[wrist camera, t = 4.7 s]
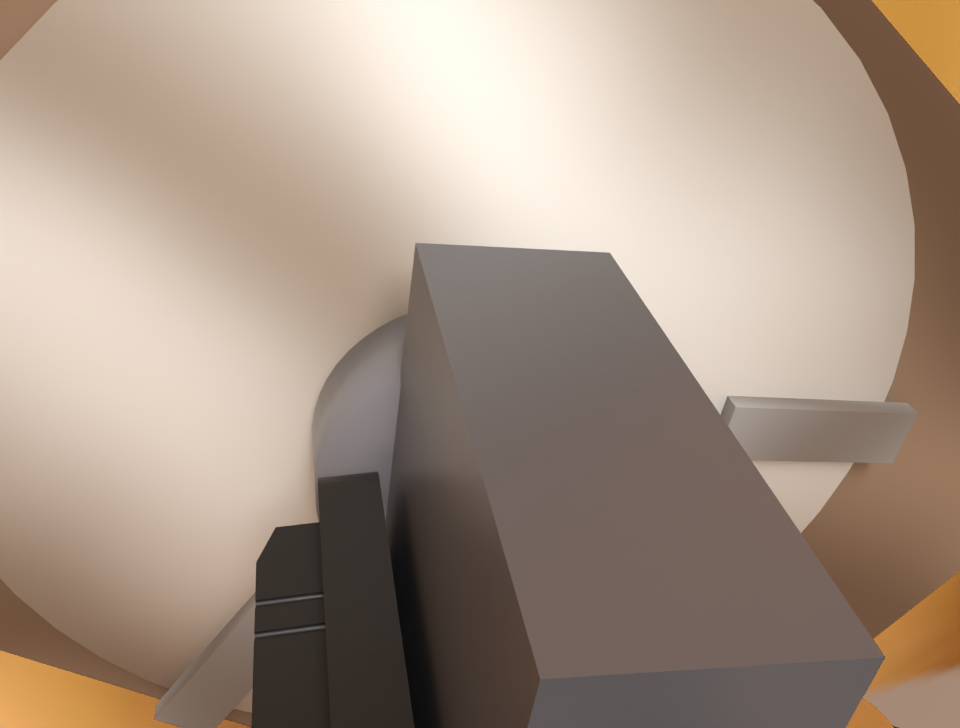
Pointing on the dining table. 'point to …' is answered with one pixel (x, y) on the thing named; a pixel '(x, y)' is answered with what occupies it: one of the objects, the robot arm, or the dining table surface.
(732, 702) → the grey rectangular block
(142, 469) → the tuner box
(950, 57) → the dining table surface
